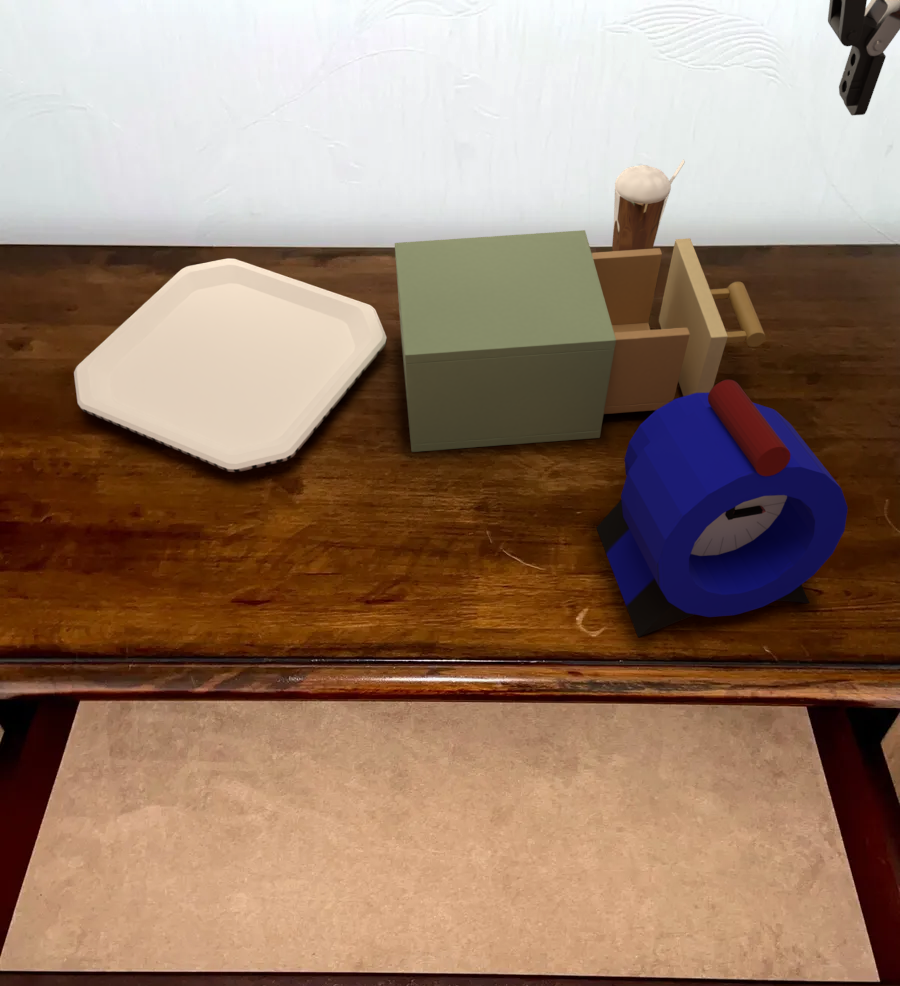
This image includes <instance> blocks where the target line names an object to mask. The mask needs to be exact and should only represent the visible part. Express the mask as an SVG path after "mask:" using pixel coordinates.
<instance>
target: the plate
mask: <svg viewBox="0 0 900 986" xmlns="http://www.w3.org/2000/svg"><path fill="white" fill-rule="evenodd" d="M387 339H388V337H387V335H386V332H385V329H384V327H383V325H382V322H381V320H380V317H379V315H378V313H377V310H376V308H374V307H373V306H372V305H371V304H368V303H365V302H362V301H359V300H358V299H357V300H356V299H353V298H351V297H349V296H345V295H342V294H339V293H336V292H333V291H330V290H328V289H325V288H321V287H318V286H315V285H313V284H310V283H307V282H304V281H301V280H299V279H295V278H292V277H290V276H289V277H288V276H286V275H283V274H280V273H277V272H275V271H272V270H269V269H266V268H263V267H259V266H257V265H254V264H252V263H248V262H246V261H242V260H239V259H238V258H237V259H236V258H223V259H217V260H213V261H208V262H203V263H197V264H192V265H187V266H185V267H183V268H181V269H180V270H179V271H178V272H176V274H175V275H173V277H171V278H170V279H169V280H168V281H167V282H166V283H164V285H162V287H160V289H159V290H157V291H156V292H155V293H154V294H153V295H152V296H151V297H150V298H149V299H147V300H146V301H145V302H144V303H143V304H142V305H140V307H139V308H138V309H136V311H135V312H134V313H133V314H132V315H130V317H128V318H127V319H126V320H125V321H123V323H122V324H120V325H119V326H118V327H117V328H116V329H115V330H114V331H113V332H112V333H111V334H110V335H109V336H107V337H106V338H105V340H103V341H102V342H101V343H100V344H99V345H98V346H97V347H96V348H95V349H94V350H92V351H91V353H89V354H88V355H87V356H86V357H85V358H84V359H83V360H82V361H81V362H79V364H77V365H76V367H75V369H74V371H73V376H74V377H73V378H74V385H75V393H76V402H77V405H78V407H79V408H80V409H81V410H82V411H83V412H84V413H86V414H89V415H91V416H93V417H96V418H98V419H101V420H103V421H106V422H107V423H110V424H113V425H116V426H118V427H120V428H123V429H125V430H127V431H130V432H132V433H135V434H137V435H139V436H142V437H144V438H147V439H149V440H151V441H154V442H157V443H159V444H161V445H163V446H166V447H169V448H170V449H173V450H176V451H178V452H180V453H183V454H185V455H188V456H189V457H192V458H195V459H197V460H200V461H202V462H204V463H207V464H209V465H211V466H213V467H216V468H219V469H221V470H223V471H225V472H229V473H241V472H244V471H248V470H252V469H253V470H254V469H258V468H262V467H265V466H270V465H274V464H279V463H282V462H283V463H284V462H287V461H289V460H290V459H292V458H293V457H294V456H295V455H296V454H297V453H298V452H299V450H300V449H301V448H302V447H303V446H304V444H305V443H306V442H307V441H308V440H309V438H310V437H311V436H312V435H313V434H314V432H315V431H316V430H317V429H318V427H319V426H320V425H321V424H322V422H323V421H325V419H326V418H327V417H328V416H329V415H330V413H331V412H332V411H333V409H334V408H335V407H336V406H337V405H338V403H339V402H340V401H341V400H342V399H343V398H344V396H345V395H346V394H347V393H348V391H349V390H350V389H352V387H353V385H355V383H356V382H357V381H358V379H359V378H360V377H361V376H362V375H363V374H364V372H365V371H366V370H367V369H368V368H369V366H371V364H372V363H373V362H374V360H375V359H376V358H377V357H378V356H379V354H380V353H381V352H382V351H383V350H384V348H385V347H386V345H387V341H388V340H387Z"/></svg>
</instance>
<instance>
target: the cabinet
mask: <svg viewBox="0 0 900 986" xmlns="http://www.w3.org/2000/svg"><path fill="white" fill-rule="evenodd" d="M592 253H593V252H592V250H591V247H590V243H589V238H588V236H587V233H586V230H585V229H584V230H583V229H582V230H567V231H566V230H565V231H554V232H537V233H521V234H507V235H492V236H479V237H463V238H448V239H434V240H431V239H430V240H418V241H404V242H403V241H402V242H394V257H395V268H396V269H395V271H396V285H397V297H398V299H397V300H398V312H399V324H400V327H399V328H400V341H401V342H400V343H401V351H402V352H401V353H402V360H403V361H402V363H403V373H404V385H405V396H406V407H407V417H408V428H409V439H410V441H409V442H410V451H411V453H417V452H418V453H419V452H432V451H445V450H458V449H471V448H484V447H499V446H508V445H509V446H510V445H523V444H537V443H548V442H549V443H550V442H562V441H565V442H566V441H577V440H589V439H601V438H600V437H601V433H602V427H603V426H602V425H603V421H604V415H605V414H604V409H605V403H606V397H607V391H608V385H609V379H610V373H611V367H612V361H613V355H614V348H615V343H616V338H615V335H614V331H613V327H612V324H611V320H610V317H609V313H608V310H607V306H606V303H605V299H604V296H603V292H602V289H601V285H600V281H599V278H598V274H597V271H596V267H595V264H594V260H593V257H592Z"/></svg>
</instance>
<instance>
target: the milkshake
mask: <svg viewBox="0 0 900 986" xmlns="http://www.w3.org/2000/svg"><path fill="white" fill-rule="evenodd" d="M685 163H686V161H685V159H682V160H681V162H680V163H679V165H678V167H677V168H676V170H675V171H674V173H673V174H672V176H671V177H670V179H669V178H668V176H667V175H666V174H665V173H664V171H662V170H661V169H659V168H657V167H653V166H650V165H646V164H641V165H636V166H635V165H634V166H630V167H626V168H624V169H623V170H622V171H621V173H620V174H619V175H618V176H617V178H616V179H615V182H614V204H613V205H614V206H613V207H614V208H613V229H612V246H611V251H625V250H640V249H654V245H655V241H656V238H657V235H658V231H659V227H660V225H661V221H662V218H663V215H664V212H665V208H666V206H667V202H668V199H669V196H670V193H671V191H672V190H671V189H672V183H673V182H674V180H675V179H676V177H677V176H678V174H679V173H680V171H681V169H682V168H683V166H684V165H685Z"/></svg>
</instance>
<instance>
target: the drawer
mask: <svg viewBox="0 0 900 986" xmlns="http://www.w3.org/2000/svg"><path fill="white" fill-rule="evenodd" d="M695 249H696V248H695V247H694V245H693V242H692V239H691V237H690V238H689V237H688V238H675V240H674V244H673V250H672V254H671V260H670V264H669V267H668V268H669V269H668V273H667V278H666V281H665V282H666V283H665V287H664V292H663V297H662V302H661V307H660V311H659V316H658V324H659V326H660V329H651V327H650V324H649V323H650V322H649V321H650V318H651V317H650V316H651V312H652V307H653V301H654V297H655V291H656V287H657V282H658V276H659V271H660V267H661V262H662V257H663V253H662V250H661V248H660V247H657V248H655V247H654V248H653V249H640V250H625V251H612V250H611V251H598V252H591V253H592V257H593V260H594V264H595V267H596V271H597V274H598V278H599V281H600V285H601V289H602V292H603V296H604V299H605V303H606V306H607V310H608V313H609V317H610V320H611V324H612V327H613V331H614V335H615V338H616V343H615V348H614V355H613V361H612V367H611V373H610V379H609V385H608V391H607V397H606V403H605V409H604V415H610V414H622V413H623V414H624V413H635V412H651V411H656V410H657V409H659V408H661V407H662V406H664V405H666V404H667V403H669V402H671V401H673V400H674V399H675V396H676V392H677V388H678V386H679V388H680V391H681V393H682V397H684V396H687V395H690V394H694V393H709V392H710V391H711V389H712V388H713V387H714V386H715V382H716V378H717V376H718V375H717V374H718V371H719V368H720V364H721V361H722V358H723V354H724V351H725V347H726V344H732V343H744V342H745V343H746V345H747V346H748V347H751V348H756V347H759V346H761V345H762V344H763V343H764V342H765V341H766V334H765V331H764V329H763V326H762V324H761V322H760V319H759V317H758V314H757V313H756V309H755V308H754V304H753V303H752V300H751V298H750V296H749V292H748V291H747V288H746V286H745V284H744V283H743V282H741V281H734V282H732V283H730V284H729V285H728V286H727V287H726V288H713V289H711V288H710V286H709V284H708V281H707V278H706V276H705V273H704V270H703V268H702V265H701V263H700V259H699V258H698V254H697V252H696V250H695ZM716 300H729V303H730V305H731V308H732V310H733V313H734V316H735V318H736V320H737V323H738V325H739V328H740V330H737V331H726V328H725V326H724V323H723V319H722V317H721V315H720V312H719V309H718V307H717V304H716V302H715V301H716ZM678 384H679V385H678Z"/></svg>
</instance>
